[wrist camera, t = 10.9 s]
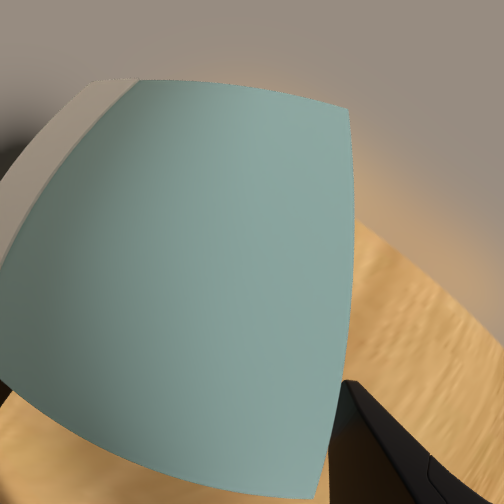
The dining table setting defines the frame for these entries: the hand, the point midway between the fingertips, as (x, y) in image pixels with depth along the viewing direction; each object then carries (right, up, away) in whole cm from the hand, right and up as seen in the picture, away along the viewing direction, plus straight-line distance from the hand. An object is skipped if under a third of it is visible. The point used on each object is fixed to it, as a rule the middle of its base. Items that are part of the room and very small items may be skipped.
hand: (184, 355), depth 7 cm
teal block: (-1, -3, +8) cm, 9 cm away
